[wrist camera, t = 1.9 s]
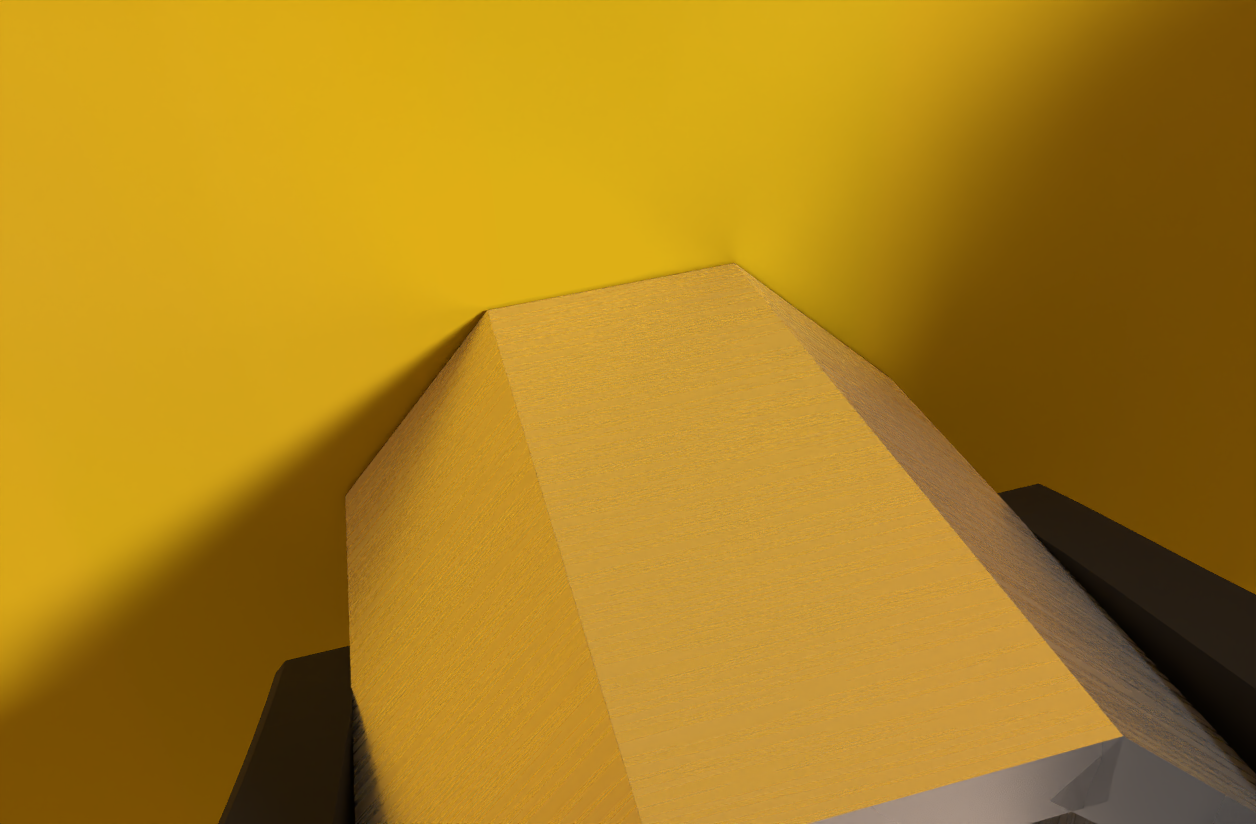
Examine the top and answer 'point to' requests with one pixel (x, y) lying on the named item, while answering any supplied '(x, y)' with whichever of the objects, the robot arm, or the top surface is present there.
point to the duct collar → (728, 596)
